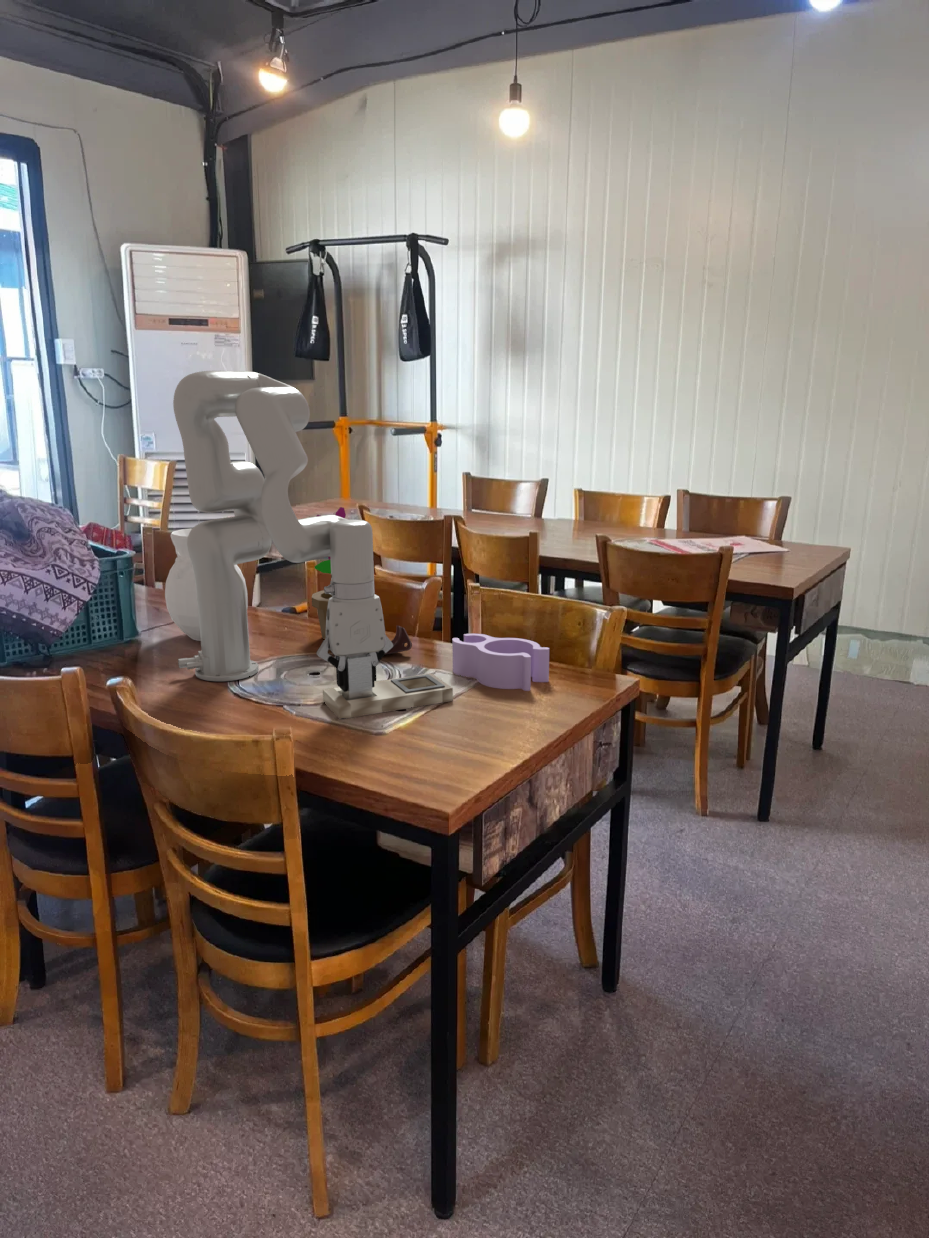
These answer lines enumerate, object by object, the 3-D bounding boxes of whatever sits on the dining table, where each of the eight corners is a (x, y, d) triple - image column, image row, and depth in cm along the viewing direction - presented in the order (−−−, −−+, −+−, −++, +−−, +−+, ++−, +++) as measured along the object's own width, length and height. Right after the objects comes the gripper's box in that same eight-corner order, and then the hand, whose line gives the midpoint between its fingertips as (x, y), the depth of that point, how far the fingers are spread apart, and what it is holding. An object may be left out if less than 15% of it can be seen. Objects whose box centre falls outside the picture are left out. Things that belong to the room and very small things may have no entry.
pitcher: (152, 639, 213) (142, 532, 207) (214, 622, 228) (206, 522, 221) (205, 652, 203) (196, 540, 196) (267, 633, 217) (260, 529, 211)
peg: (350, 712, 165) (347, 659, 163) (342, 704, 169) (340, 652, 167) (373, 708, 167) (371, 656, 165) (365, 701, 171) (363, 649, 168)
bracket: (409, 647, 195) (401, 602, 197) (333, 663, 197) (325, 617, 198) (414, 650, 201) (406, 606, 203) (340, 665, 203) (332, 621, 204)
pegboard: (339, 719, 162) (339, 704, 161) (323, 702, 170) (322, 687, 170) (452, 700, 171) (452, 686, 170) (431, 685, 180) (431, 671, 179)
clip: (440, 675, 186) (439, 642, 184) (477, 660, 196) (476, 629, 194) (521, 695, 174) (521, 660, 172) (556, 678, 184) (557, 645, 182)
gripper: (313, 599, 156) (318, 700, 160) (405, 589, 163) (407, 686, 167) (301, 590, 162) (306, 688, 167) (390, 581, 169) (392, 675, 174)
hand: (356, 686), depth 167 cm, fingers closed on peg, 4 cm apart
